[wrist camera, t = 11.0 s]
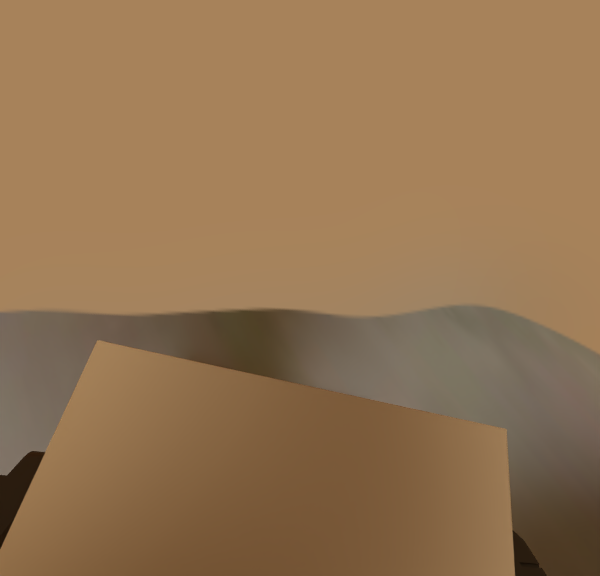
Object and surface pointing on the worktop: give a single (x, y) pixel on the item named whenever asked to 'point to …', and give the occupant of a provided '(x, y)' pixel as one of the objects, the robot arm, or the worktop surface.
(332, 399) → the column
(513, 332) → the worktop surface
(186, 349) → the worktop surface
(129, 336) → the worktop surface
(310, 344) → the worktop surface
